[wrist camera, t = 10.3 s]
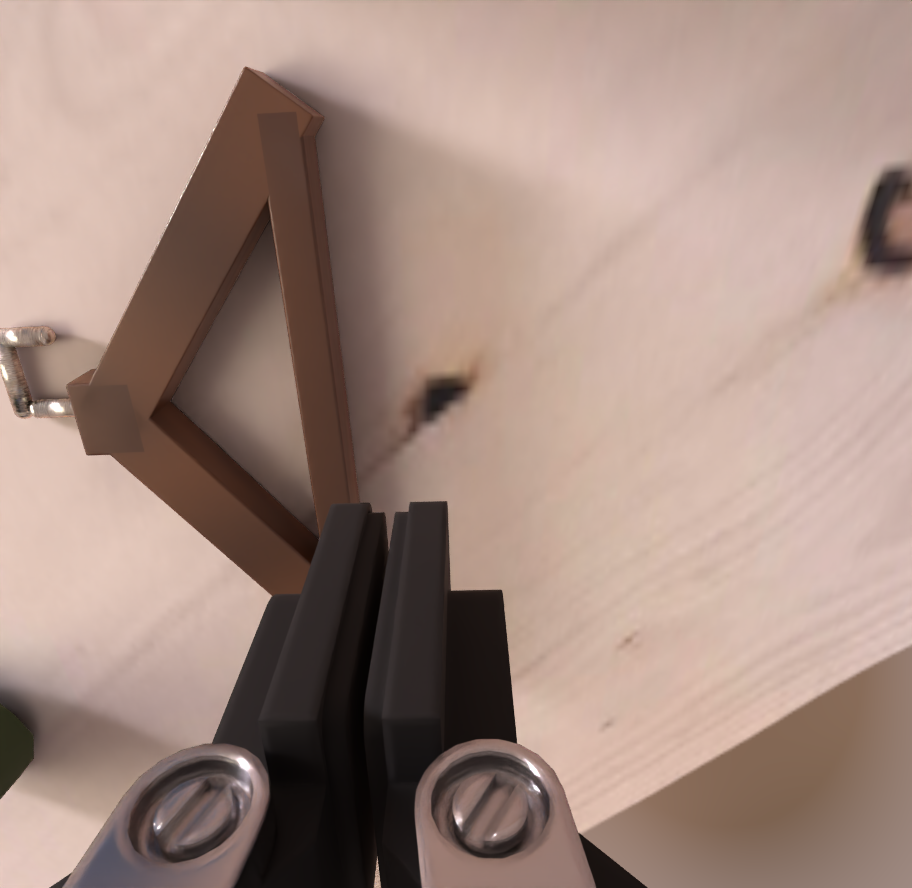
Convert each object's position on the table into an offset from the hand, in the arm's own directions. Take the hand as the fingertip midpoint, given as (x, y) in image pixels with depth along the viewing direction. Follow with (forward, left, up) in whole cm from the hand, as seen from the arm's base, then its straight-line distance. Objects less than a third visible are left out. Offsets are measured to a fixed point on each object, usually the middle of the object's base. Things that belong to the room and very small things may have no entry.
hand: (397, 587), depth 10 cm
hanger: (-8, -1, -13) cm, 15 cm away
